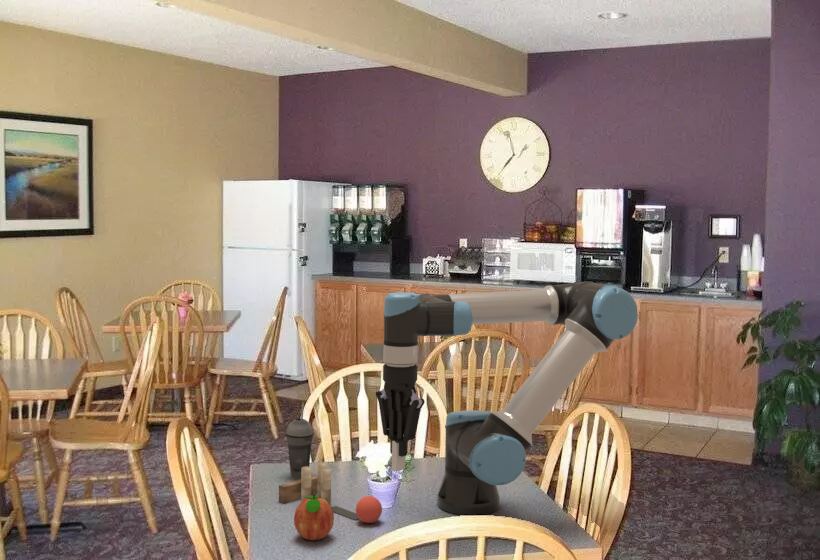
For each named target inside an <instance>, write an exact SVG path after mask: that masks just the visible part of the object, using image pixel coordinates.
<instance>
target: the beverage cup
mask: <svg viewBox="0 0 820 560" xmlns="http://www.w3.org/2000/svg"><path fill="white" fill-rule="evenodd" d="M304 409H305V402H302V404H301V412H300V418H296V419H293V420H292V421H291V422H290V423H289V424H288V426H287V427H286V433H285V436H286V441H287V447H288V458H289V459H288V460H289V470H290V478H291V477H292V478H291V479H293V478H294V479H293V480H300V479H301V468H302V467H306V466H307V467H310V462H311V451H312V442H313V437H314V432H313V431H314V430H313V427H312V425H311V423H310V422H309V421H308V420H306V419H305V418H303V417H304V412H305V411H304Z"/></svg>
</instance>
